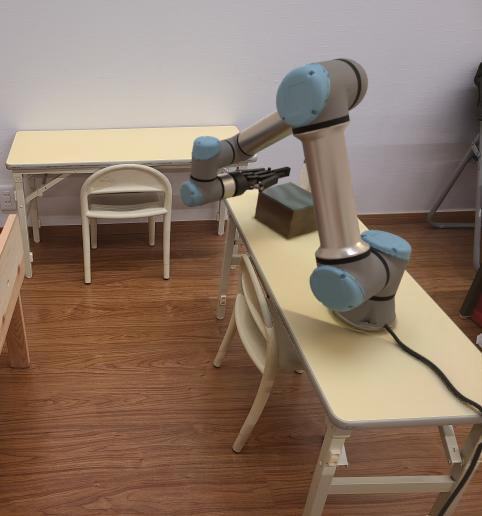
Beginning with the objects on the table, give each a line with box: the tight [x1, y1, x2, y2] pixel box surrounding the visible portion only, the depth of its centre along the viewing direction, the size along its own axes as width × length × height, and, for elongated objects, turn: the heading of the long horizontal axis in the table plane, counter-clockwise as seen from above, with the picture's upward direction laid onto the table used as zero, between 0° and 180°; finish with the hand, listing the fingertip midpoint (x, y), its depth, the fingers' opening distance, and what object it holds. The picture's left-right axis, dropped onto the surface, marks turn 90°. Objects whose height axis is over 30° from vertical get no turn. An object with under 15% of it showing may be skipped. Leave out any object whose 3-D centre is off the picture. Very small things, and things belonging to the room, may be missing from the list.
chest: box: [253, 192, 318, 240], centre depth 167 cm, size 14×17×10 cm
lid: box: [258, 182, 313, 212], centre depth 164 cm, size 14×17×1 cm
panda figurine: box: [298, 158, 311, 193], centre depth 179 cm, size 12×11×15 cm
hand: (288, 171), depth 157 cm, fingers closed
